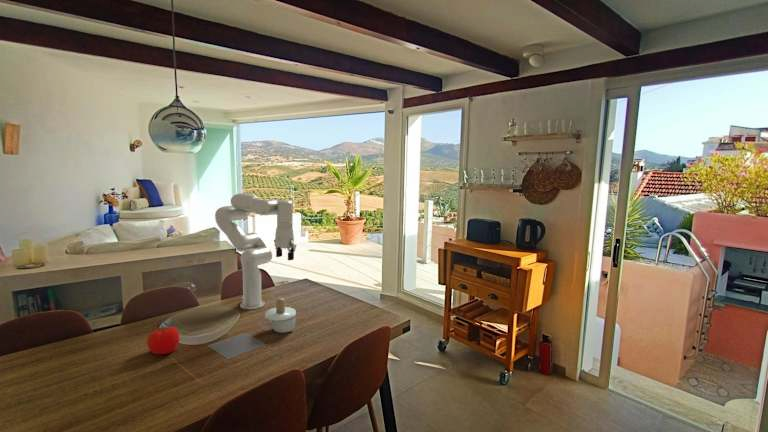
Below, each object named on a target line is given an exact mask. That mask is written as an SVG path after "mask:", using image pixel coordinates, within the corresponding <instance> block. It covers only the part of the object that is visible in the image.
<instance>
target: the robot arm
mask: <svg viewBox="0 0 768 432" xmlns="http://www.w3.org/2000/svg"><path fill="white" fill-rule="evenodd" d="M251 213H252V214H254V215H259V216H268V215H269V216H271V215H276V221H277V222H276V228H275V234H274V235H275V236H274V237H275V238H274V240H273V242H274V247H275V250H276V251H275V257H276V258H280V257H283V249H285V250H287V251H288V252H287V260H288V261H293V260H294V259H295V257H294V256H295V255H294V254H295V251H296V250H297V249H296V248H297V244H296V242H295V236H294V229H293V225H294V224H293V216H294V215H293V213H294V212H293V201H291V200H283V199H278V198H275V199H260V197H259V196H257V195H256V194H254V193H251V192H245V193H244V192H243V193H236V194H233V195H232V197H231V198H230V205H224V206H222V207H219V208H217V210H216V211H215V215H214V218H215V223H216V224H217V226H218V228H219V229H220V230H221V232H223V234H225V236H226V237H227V238H228V240H229V242H230V243H231V244H232V246H233V247H234V249H235V250H236V251H238V252H241V255H240V259H239V260H240V263H241V269H242V292H243V293H242V296H241V297H240V298H241V299H242V302H241V303H240V304H239V305H240V308H241V309H243V310H257V309H260V308H262V307H263V306H265V301H264V300H262V272H261V270H260V268H259V267H258V266H261V265H264V264H269V263H270V262H271V261H272V259H273V253H272V251H271V249H270V247H269V246H268V244H267V243H266V241H265V240H264V239H263V237H262V236H261V235H260V234H258V233H257V232H249V233H246V232H244V230H243V229H242V228H241V226H239V225H238V224H237V223H235V222H236V221H242V220H245V219H246V218H248V217H249V216H250V214H251ZM234 221H235V222H234Z"/></svg>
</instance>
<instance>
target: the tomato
mask: <svg viewBox="0 0 768 432" xmlns="http://www.w3.org/2000/svg"><path fill="white" fill-rule="evenodd" d="M179 343H180V333H179V331H178V329H177V327H175V326H173V325H172V326H161V327H157V328H156V329H154V330H153V331H152V332H150V333H149V335H148V336H147V339H146V346H147V347H148V350H150V351H151V352H152V353H153V354H155V355H167V354H169V353H172V352H174V351H175V350H176V349H177V347H178V346H179Z"/></svg>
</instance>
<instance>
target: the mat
mask: <svg viewBox="0 0 768 432" xmlns="http://www.w3.org/2000/svg"><path fill="white" fill-rule="evenodd" d="M264 346H266V343H264V342H262V341H260V340H259V339H257V338H255V337H254V336H251V335H250V334H249V333H246V332H243V333H239V334H237V335H234V336H232V337H228V338H225V339H222V340H218V341H217V342H214V343H211V344H208V345H207V347H208V348H210V349H212V350H213V351H214V352H216V353H218V354H219V355H221V356H222V357H223V358H225V359H226V360H231V359H233V358H235V357H236V358H237V357H238V356H240V355H243V354H246V353H248V352H251V351H254V350H256V349H258V348H261V347H264Z"/></svg>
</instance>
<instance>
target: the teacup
mask: <svg viewBox="0 0 768 432" xmlns="http://www.w3.org/2000/svg"><path fill="white" fill-rule="evenodd" d="M296 315H297V314H296ZM296 315H295V316H294V317H293V318H290V319H287V320H281V321H274V320H271V322H270V321H268V319H267V318H266V317H265V316H264V322H265V324H266V325H268V326H270V327H271V328H272V329H273V330H274V332H276V333H279V334H286V333H287V334H288V333H289V332H291V331H293V330H294V328H295V326H296Z"/></svg>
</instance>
